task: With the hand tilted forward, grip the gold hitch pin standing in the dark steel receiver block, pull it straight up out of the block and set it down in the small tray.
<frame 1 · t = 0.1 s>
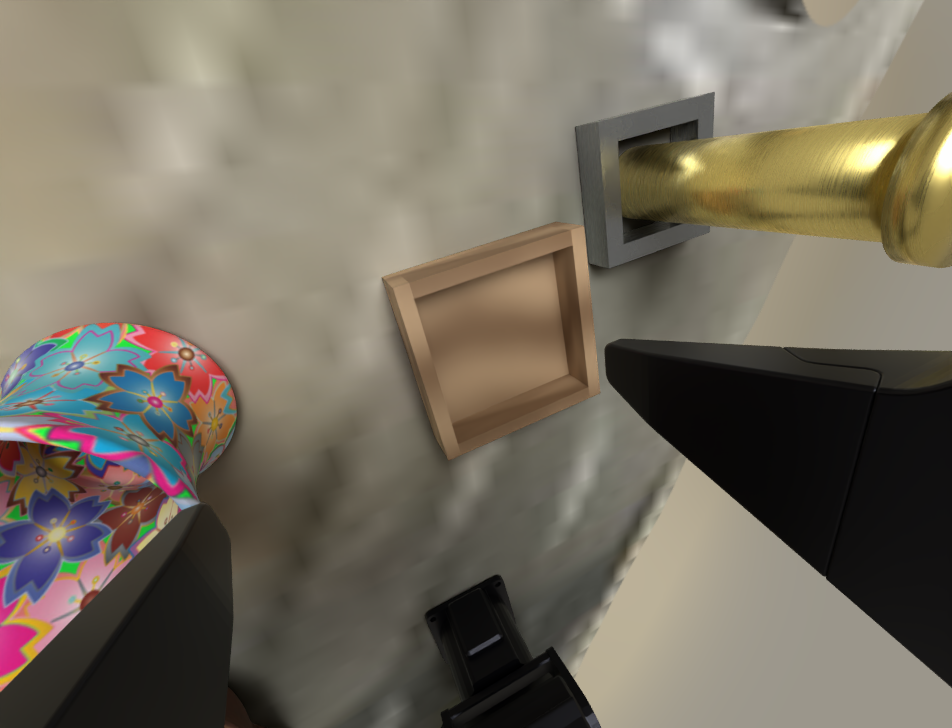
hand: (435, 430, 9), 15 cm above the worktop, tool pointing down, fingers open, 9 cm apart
tray: (492, 333, 26), on the worktop
receiver block: (635, 183, 26), on the worktop
mug: (102, 393, 19), on the worktop
hitch pin: (750, 182, 19), in the receiver block
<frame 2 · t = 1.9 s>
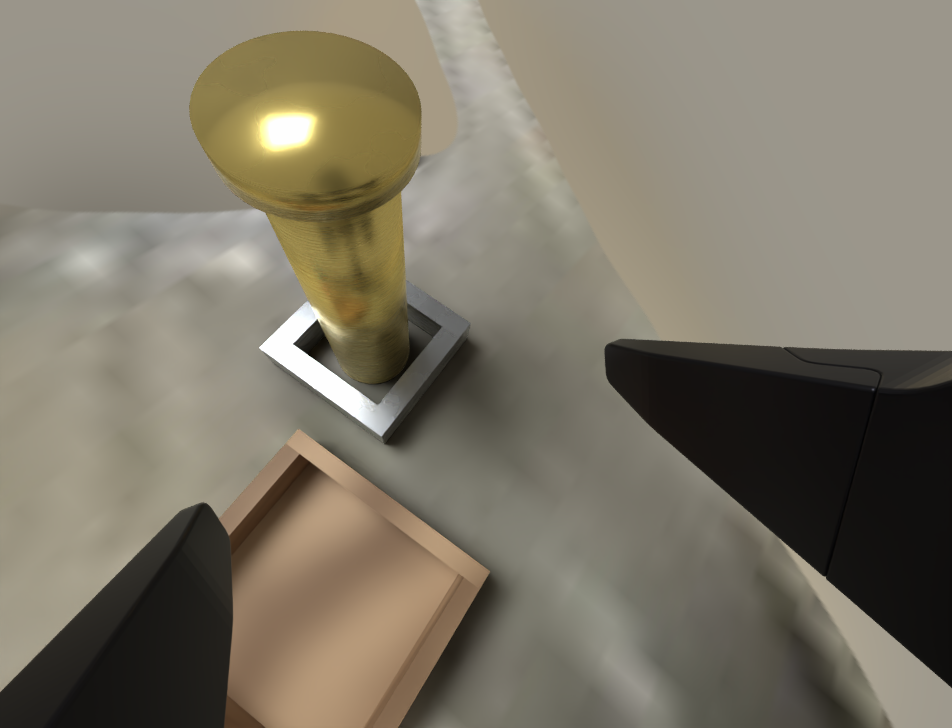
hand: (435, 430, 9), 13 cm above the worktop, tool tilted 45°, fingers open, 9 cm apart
tray: (322, 601, 19), on the worktop
receiver block: (373, 349, 24), on the worktop
hitch pin: (354, 277, 17), in the receiver block
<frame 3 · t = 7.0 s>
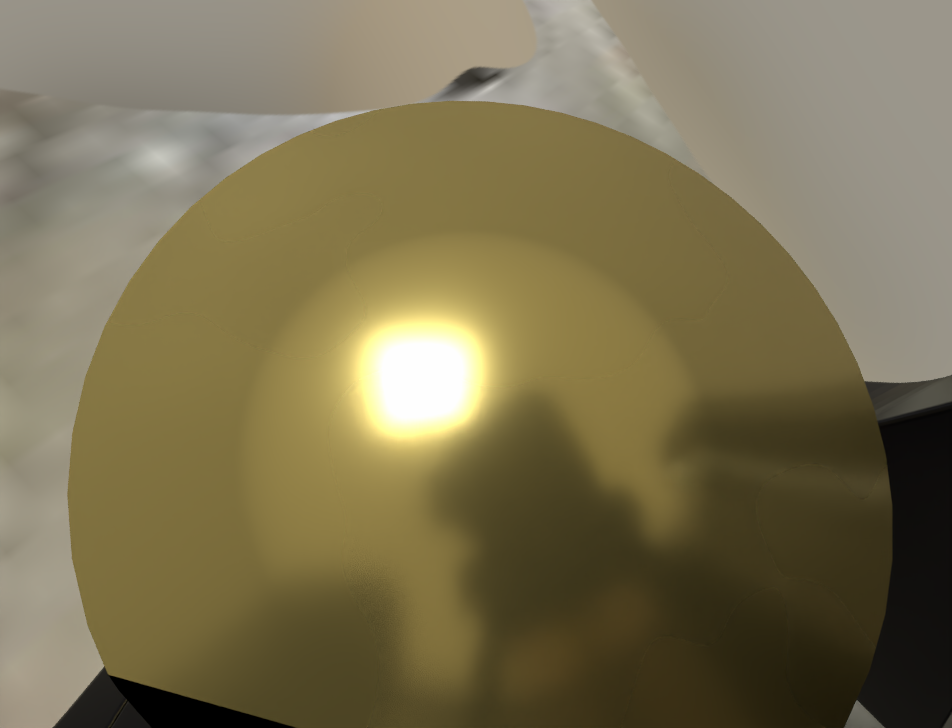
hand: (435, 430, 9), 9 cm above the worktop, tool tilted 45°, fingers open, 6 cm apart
hitch pin: (452, 490, 10), in the tray, point 8 cm above the worktop
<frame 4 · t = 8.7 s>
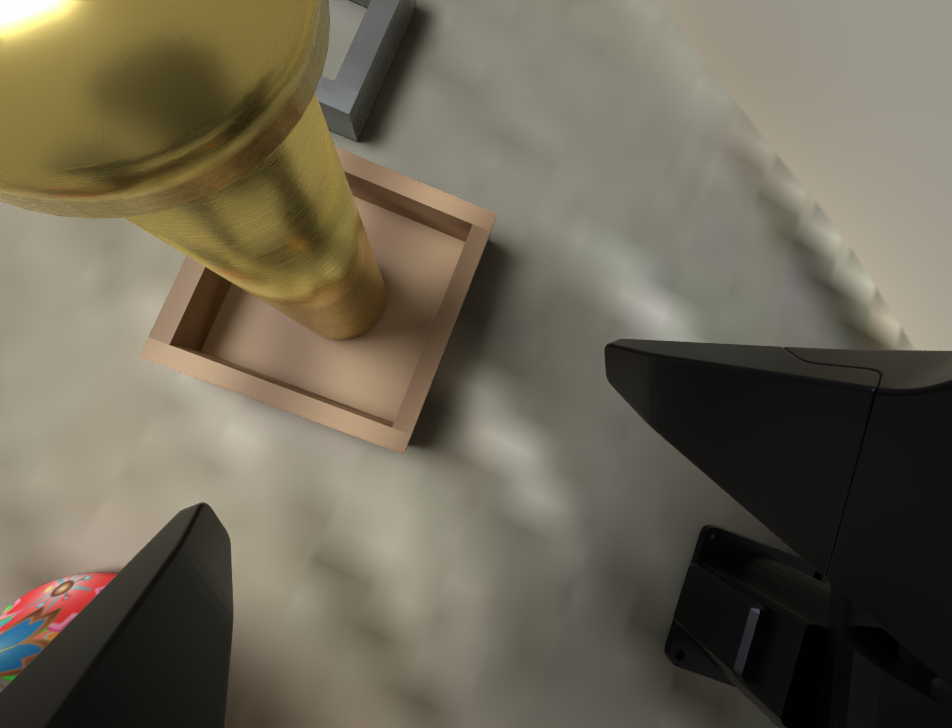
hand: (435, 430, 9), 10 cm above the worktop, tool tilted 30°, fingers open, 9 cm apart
tray: (342, 297, 19), on the worktop
receiver block: (312, 40, 20), on the worktop
mug: (74, 682, 18), on the worktop
hitch pin: (285, 227, 11), in the tray, point 8 cm above the worktop
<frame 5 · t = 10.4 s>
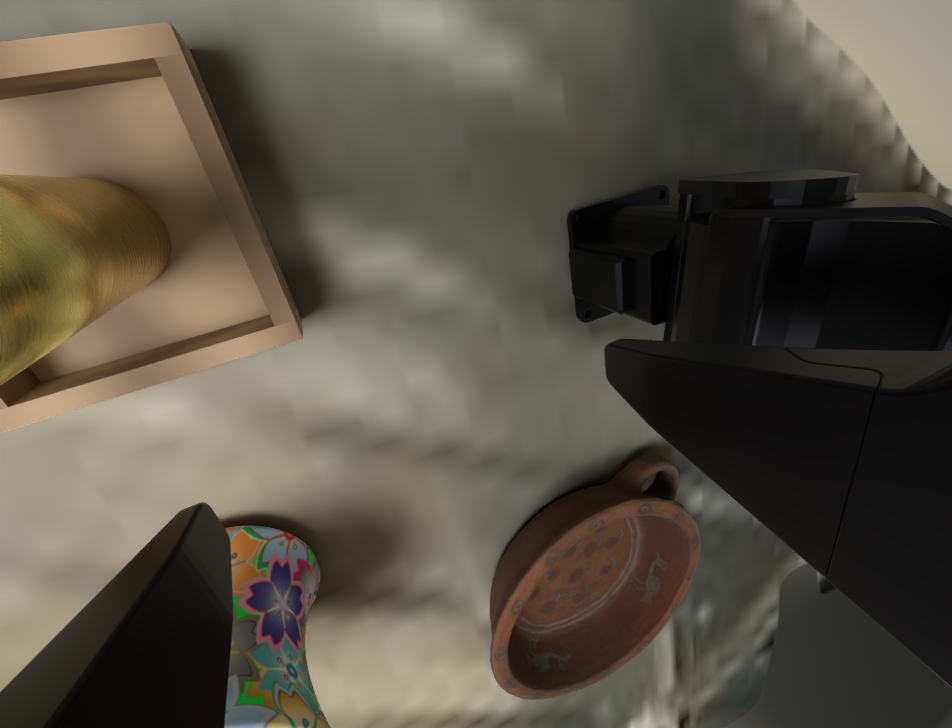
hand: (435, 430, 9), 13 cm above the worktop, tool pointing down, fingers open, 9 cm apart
tray: (108, 235, 16), on the worktop
mug: (228, 594, 24), on the worktop
dish: (565, 554, 34), on the worktop
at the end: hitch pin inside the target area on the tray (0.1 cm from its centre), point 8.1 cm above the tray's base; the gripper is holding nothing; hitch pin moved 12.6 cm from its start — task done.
